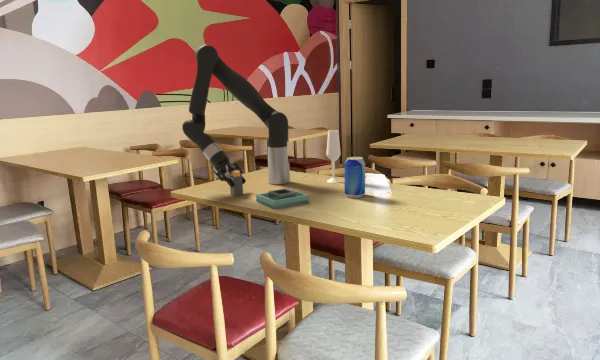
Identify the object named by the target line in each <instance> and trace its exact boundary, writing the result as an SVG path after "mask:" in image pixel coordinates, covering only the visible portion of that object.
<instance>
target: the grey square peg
mask: <svg viewBox="0 0 600 360" xmlns="http://www.w3.org/2000/svg"><path fill="white" fill-rule="evenodd" d="M242 176H243V175H242ZM242 176H240V171H239V170H238V171H235V170H234V171H231V174H230V175H229V177H230V178H231V179H232V181H233V182H234V183H235V186H234V187H233V188H231V186H229V190H230V196H231V195H232V196H234V197H236V196H237V197H238V196H243V195H244V187H243V186H244V184H243V181H242Z"/></svg>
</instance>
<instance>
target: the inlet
mask: <svg viewBox="0 0 600 360" xmlns="http://www.w3.org/2000/svg"><path fill="white" fill-rule="evenodd" d="M288 189H289V188H281V189H274V190H269V191H268V195H269V198H270V199H272V200H280V199H286V198H291V197H296V192H294V191H291V190H288Z"/></svg>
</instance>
